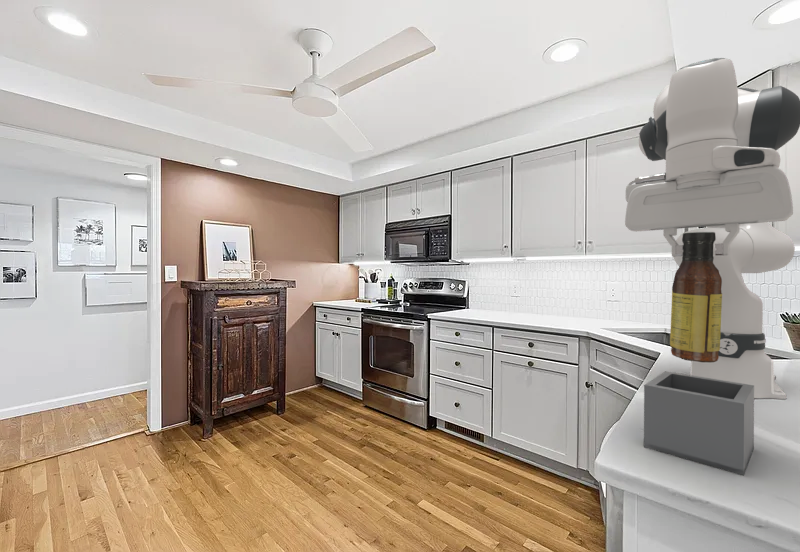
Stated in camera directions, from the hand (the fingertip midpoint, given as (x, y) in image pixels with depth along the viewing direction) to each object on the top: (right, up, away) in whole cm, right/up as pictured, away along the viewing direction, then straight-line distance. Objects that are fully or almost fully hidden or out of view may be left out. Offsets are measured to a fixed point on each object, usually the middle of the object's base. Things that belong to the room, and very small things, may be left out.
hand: (699, 256), depth 59 cm
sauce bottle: (-1, -16, +1) cm, 16 cm away
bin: (0, -30, 0) cm, 30 cm away
